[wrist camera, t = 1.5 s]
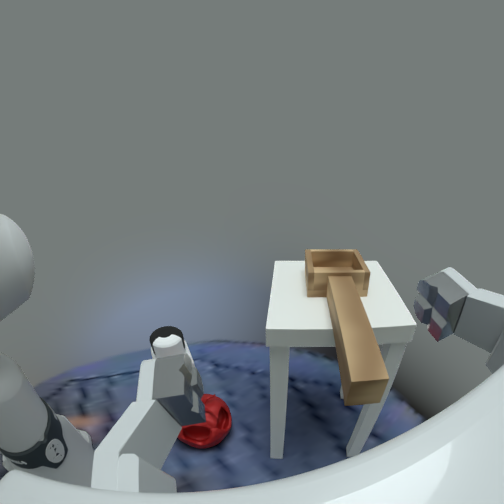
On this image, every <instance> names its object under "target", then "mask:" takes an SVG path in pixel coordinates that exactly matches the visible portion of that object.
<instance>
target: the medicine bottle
mask: <svg viewBox="0 0 504 504" xmlns="http://www.w3.org/2000/svg"><path fill="white" fill-rule="evenodd" d="M150 343H151V346H152V348H151V353H152V358H153V359H156V358H161V357H167V356H173V355H179V354H185V353H186V354H188V355H189V357H190V358H191V360H192V367H195V365H194V361H193V359H192V356H191V354H190V351H189V348H188V346H187V343H186V341H185V340H184V338H183V334H182V332H181V330H179V329H178V328H176V327H172V326H166V327H161V328H159V329H157V330H155V331H154V332H153V333H152V334H151V336H150Z"/></svg>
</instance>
